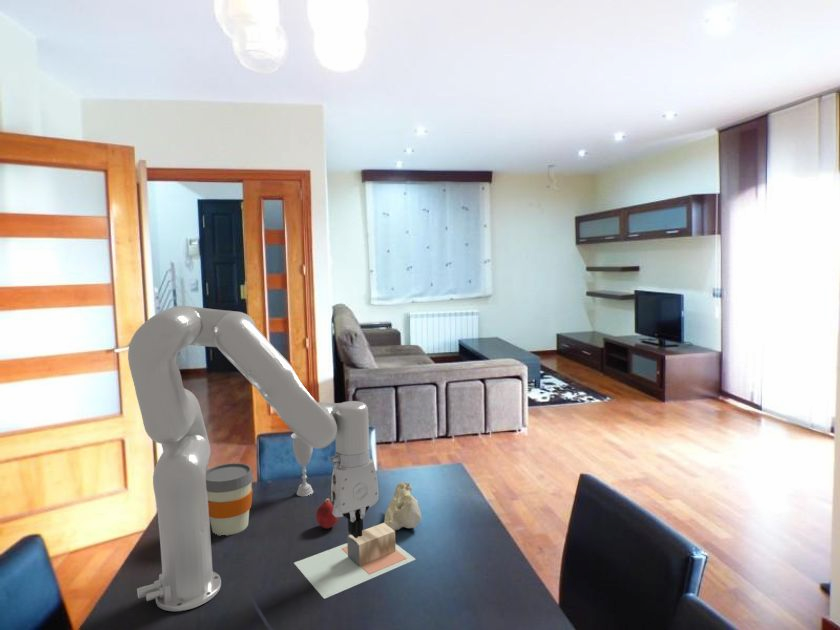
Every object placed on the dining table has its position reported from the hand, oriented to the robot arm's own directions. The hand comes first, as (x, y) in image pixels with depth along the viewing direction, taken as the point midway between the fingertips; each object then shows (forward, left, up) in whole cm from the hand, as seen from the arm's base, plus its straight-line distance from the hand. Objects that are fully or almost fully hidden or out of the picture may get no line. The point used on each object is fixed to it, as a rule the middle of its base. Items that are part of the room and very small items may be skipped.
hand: (355, 534), depth 117 cm
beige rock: (+18, +10, -7) cm, 22 cm away
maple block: (-1, 0, -4) cm, 4 cm away
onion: (+2, +18, -7) cm, 19 cm away
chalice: (+6, +42, -7) cm, 43 cm away
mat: (0, 0, -7) cm, 7 cm away
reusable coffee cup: (-18, +35, -7) cm, 40 cm away
